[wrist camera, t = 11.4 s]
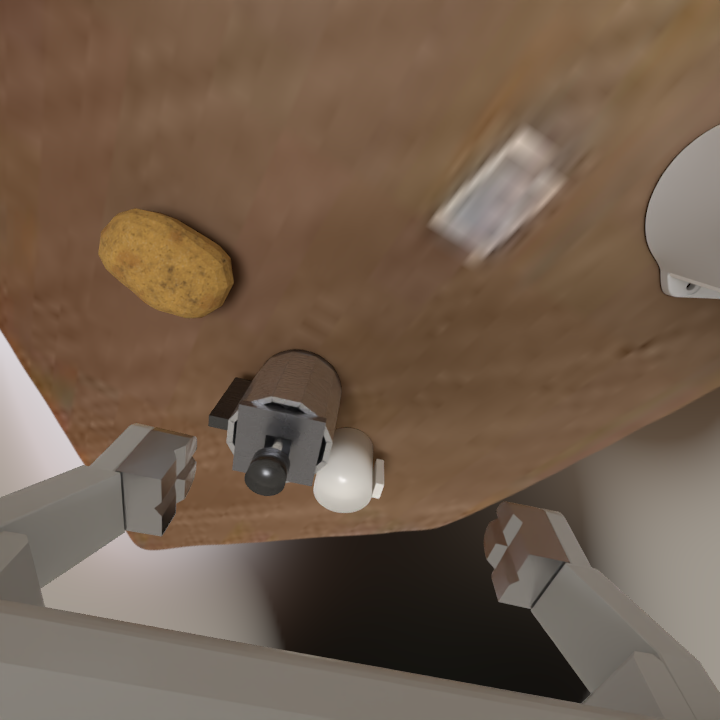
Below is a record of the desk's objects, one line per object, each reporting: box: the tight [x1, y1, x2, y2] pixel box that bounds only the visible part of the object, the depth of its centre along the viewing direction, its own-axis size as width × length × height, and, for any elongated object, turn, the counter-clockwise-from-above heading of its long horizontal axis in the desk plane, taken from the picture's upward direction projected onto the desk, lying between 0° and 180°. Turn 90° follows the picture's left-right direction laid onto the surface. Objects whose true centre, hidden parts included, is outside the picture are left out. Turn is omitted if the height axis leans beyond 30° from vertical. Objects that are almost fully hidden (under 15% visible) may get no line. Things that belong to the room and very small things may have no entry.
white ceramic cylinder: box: [314, 428, 384, 513], centre depth 49 cm, size 8×7×8 cm
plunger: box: [245, 402, 305, 496], centre depth 41 cm, size 8×8×15 cm
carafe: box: [208, 350, 342, 486], centre depth 43 cm, size 13×11×12 cm
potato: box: [98, 208, 234, 318], centre depth 39 cm, size 9×13×7 cm
